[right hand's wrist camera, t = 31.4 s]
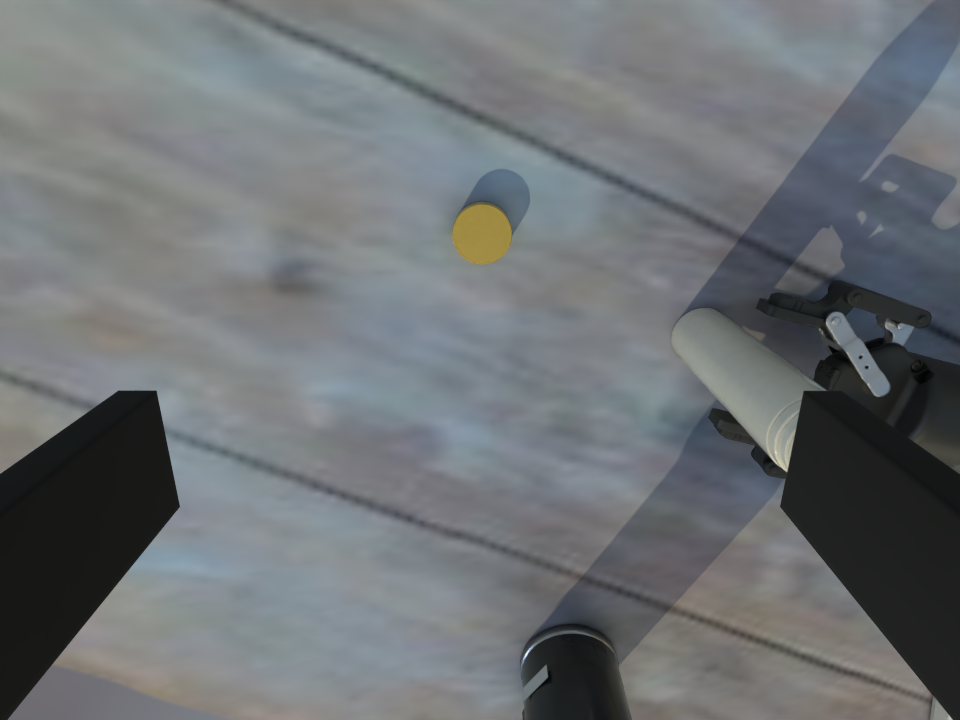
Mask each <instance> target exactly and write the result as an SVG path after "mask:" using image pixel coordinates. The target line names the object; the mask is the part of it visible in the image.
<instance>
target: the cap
mask: <svg viewBox="0 0 960 720" xmlns="http://www.w3.org/2000/svg"><path fill="white" fill-rule="evenodd" d="M452 236H453V242H454V245H455V248H456V249H457V251H458V252H459V254H460V255H461V256H462V257H463V258H465V259H466V260H468V261H470V262H472V263H475V264H489V263H492V262H495V261H496V260H498V259H500V258H501V257H502V256H503V255H504V254H505V253H506V251H507V250H508V248H509V246H510V243H511V239H512V229H511V225H510V222H509V220H508V217H507V215H506V214H505V213H504V211H503V210H502V209H501V208H499V207H498V206H497V205H495V204H492V203H489V202H475V203H472V204H470V205H468V206H466V207H465V208H464V209H463V210H462V211H461V212H460V213H459V214H458V216H457V218H456V220H455V223H454V226H453V232H452Z"/></svg>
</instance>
